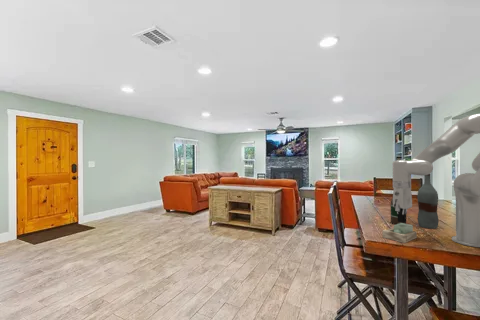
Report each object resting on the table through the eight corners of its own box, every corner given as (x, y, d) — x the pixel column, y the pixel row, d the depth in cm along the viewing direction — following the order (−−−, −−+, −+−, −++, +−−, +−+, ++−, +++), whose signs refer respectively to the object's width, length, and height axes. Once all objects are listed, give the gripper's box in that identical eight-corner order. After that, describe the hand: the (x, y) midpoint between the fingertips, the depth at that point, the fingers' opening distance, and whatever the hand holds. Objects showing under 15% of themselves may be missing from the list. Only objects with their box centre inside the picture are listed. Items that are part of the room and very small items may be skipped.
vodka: (421, 228, 128) (420, 174, 128) (414, 223, 137) (414, 173, 137) (442, 229, 125) (441, 174, 125) (434, 225, 134) (433, 173, 134)
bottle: (412, 225, 115) (401, 228, 109) (412, 235, 115) (401, 239, 109) (401, 222, 119) (390, 226, 113) (401, 232, 119) (390, 236, 113)
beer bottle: (409, 225, 133) (409, 184, 133) (396, 225, 133) (395, 184, 133) (400, 222, 141) (400, 182, 141) (387, 222, 141) (387, 182, 141)
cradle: (416, 237, 113) (416, 230, 113) (404, 242, 106) (404, 235, 106) (395, 232, 121) (395, 226, 121) (382, 237, 114) (382, 230, 114)
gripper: (403, 186, 108) (403, 226, 108) (417, 184, 115) (417, 221, 115) (385, 185, 114) (386, 222, 114) (400, 183, 122) (400, 218, 122)
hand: (401, 221), depth 115 cm, fingers closed
